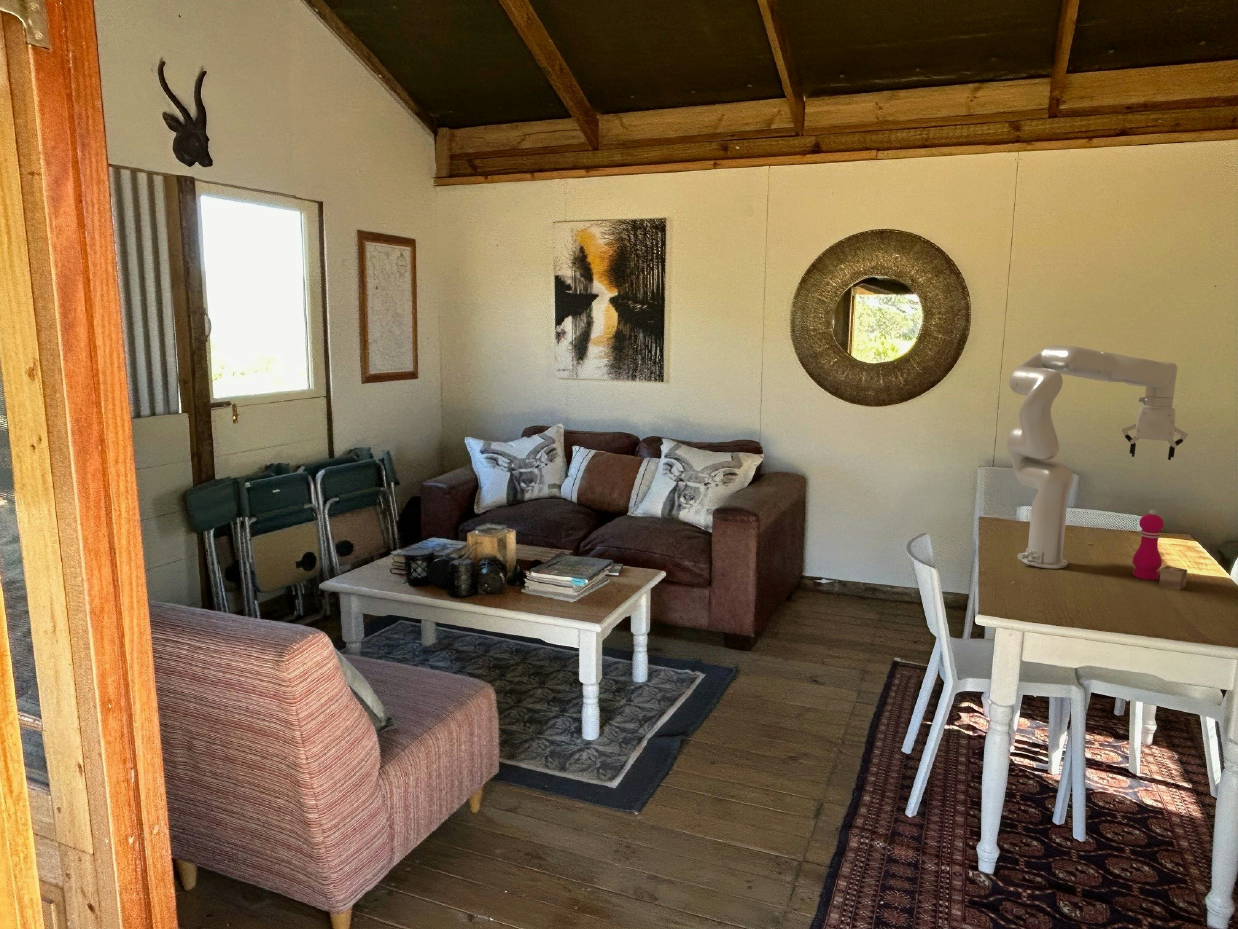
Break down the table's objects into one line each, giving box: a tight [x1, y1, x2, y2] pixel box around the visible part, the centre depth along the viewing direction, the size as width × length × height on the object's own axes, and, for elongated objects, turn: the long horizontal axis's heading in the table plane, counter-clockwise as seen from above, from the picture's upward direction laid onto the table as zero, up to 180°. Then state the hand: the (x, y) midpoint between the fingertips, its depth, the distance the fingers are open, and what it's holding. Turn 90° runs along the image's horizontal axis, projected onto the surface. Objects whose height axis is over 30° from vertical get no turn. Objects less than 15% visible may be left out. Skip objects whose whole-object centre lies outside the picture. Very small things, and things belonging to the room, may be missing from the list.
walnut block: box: [1158, 565, 1188, 591], centre depth 243 cm, size 5×5×5 cm
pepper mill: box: [1132, 509, 1165, 581], centre depth 250 cm, size 7×7×20 cm
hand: (1150, 457), depth 268 cm, fingers open, 9 cm apart
